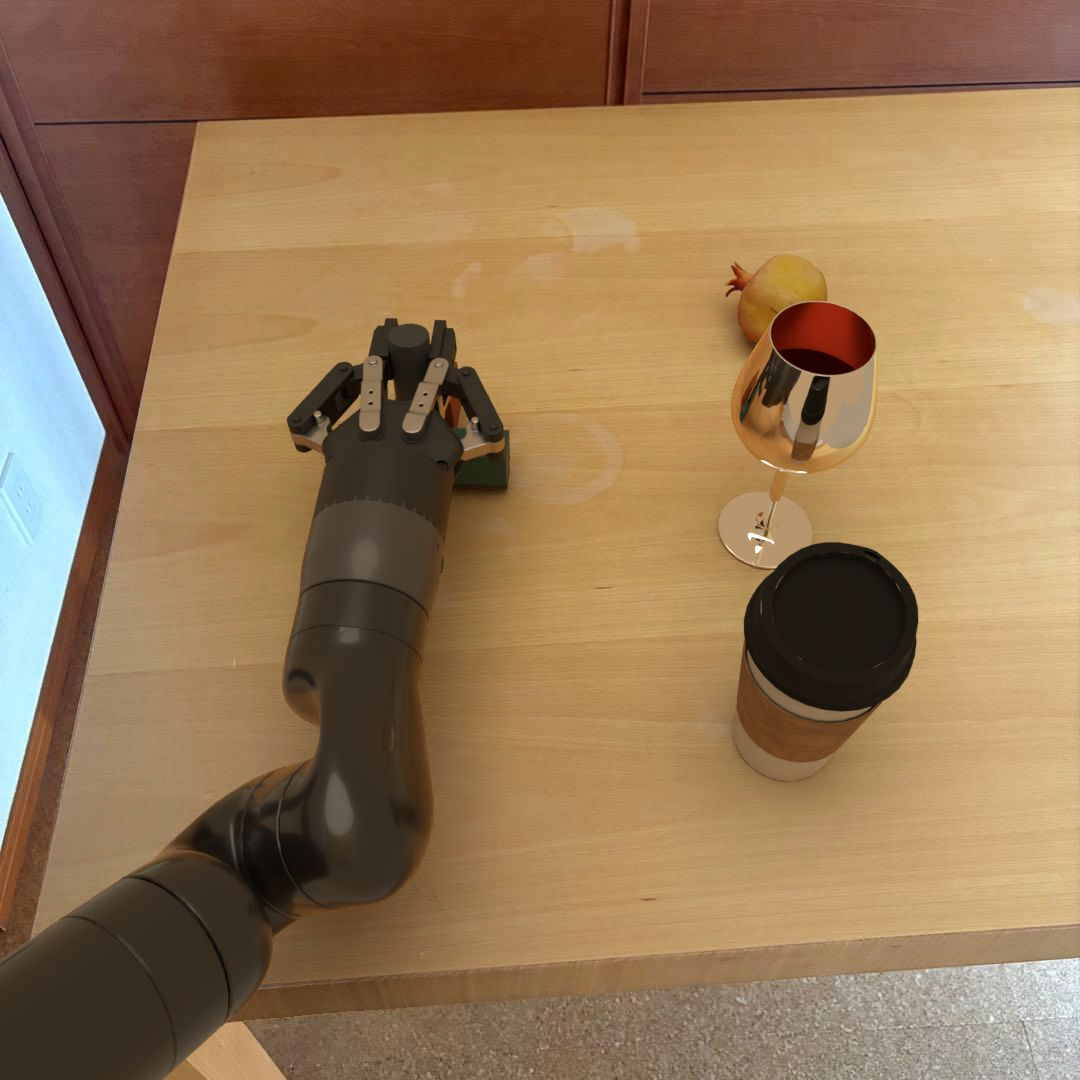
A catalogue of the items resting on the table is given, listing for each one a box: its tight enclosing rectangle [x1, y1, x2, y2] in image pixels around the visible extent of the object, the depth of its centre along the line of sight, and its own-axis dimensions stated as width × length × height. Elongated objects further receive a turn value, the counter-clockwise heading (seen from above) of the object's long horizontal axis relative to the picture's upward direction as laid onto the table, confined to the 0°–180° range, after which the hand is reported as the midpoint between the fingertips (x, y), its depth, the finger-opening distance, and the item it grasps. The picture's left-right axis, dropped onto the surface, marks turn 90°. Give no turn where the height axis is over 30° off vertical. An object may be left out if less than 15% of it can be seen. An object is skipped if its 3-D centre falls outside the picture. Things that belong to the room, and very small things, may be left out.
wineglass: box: [717, 301, 879, 570], centre depth 62 cm, size 8×8×18 cm
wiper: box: [337, 323, 511, 490], centre depth 67 cm, size 12×3×12 cm, turn 87°
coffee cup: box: [732, 541, 919, 782], centre depth 54 cm, size 8×8×15 cm
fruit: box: [724, 253, 828, 344], centre depth 77 cm, size 7×7×10 cm
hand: (417, 329), depth 66 cm, fingers closed on wiper, 2 cm apart
